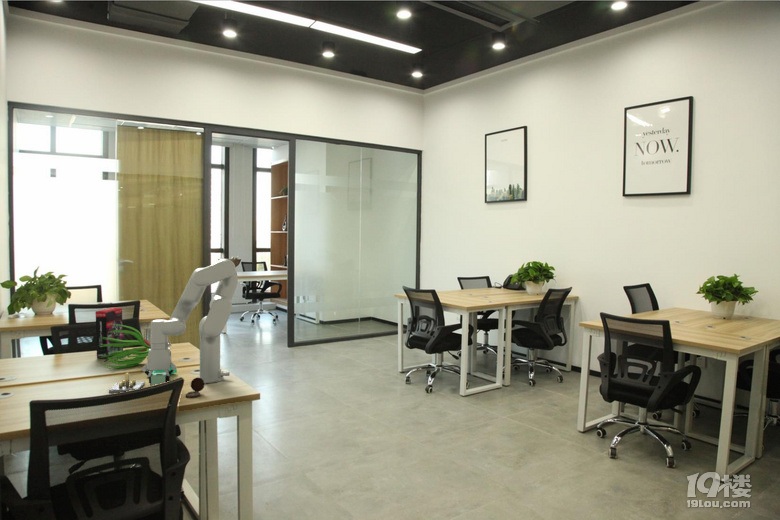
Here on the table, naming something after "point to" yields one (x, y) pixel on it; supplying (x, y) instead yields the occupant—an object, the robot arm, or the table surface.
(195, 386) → the compass
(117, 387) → the chassis
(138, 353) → the decorative plant
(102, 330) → the graphics card box
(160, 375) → the pale green block
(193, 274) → the robot arm
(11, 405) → the table surface
